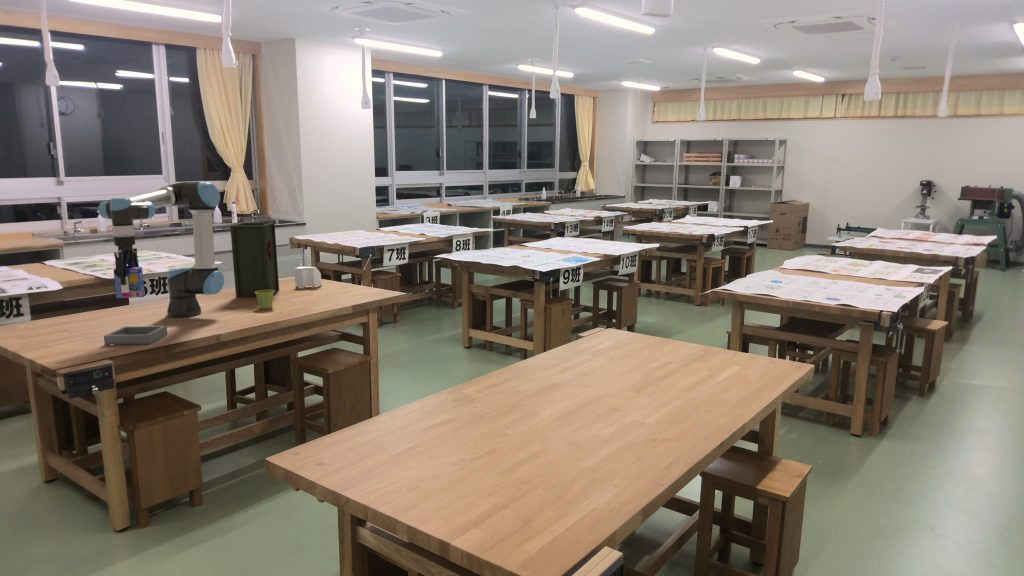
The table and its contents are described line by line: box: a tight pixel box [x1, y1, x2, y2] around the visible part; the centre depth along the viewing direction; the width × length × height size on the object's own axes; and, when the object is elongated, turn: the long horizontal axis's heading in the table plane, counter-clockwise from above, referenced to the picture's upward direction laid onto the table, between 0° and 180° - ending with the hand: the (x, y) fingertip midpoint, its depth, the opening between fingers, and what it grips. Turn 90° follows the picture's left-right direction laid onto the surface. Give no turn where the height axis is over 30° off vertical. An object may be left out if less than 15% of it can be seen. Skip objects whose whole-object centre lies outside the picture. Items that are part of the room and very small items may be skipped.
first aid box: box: [229, 222, 280, 298], centre depth 377 cm, size 18×18×40 cm
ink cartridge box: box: [113, 263, 146, 299], centre depth 279 cm, size 10×6×14 cm, turn 108°
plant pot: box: [255, 290, 275, 310], centre depth 344 cm, size 9×9×9 cm
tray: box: [103, 325, 168, 346], centre depth 283 cm, size 16×18×4 cm
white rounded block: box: [293, 266, 322, 288], centre depth 403 cm, size 11×11×12 cm
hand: (130, 290), depth 279 cm, fingers closed on ink cartridge box, 6 cm apart
